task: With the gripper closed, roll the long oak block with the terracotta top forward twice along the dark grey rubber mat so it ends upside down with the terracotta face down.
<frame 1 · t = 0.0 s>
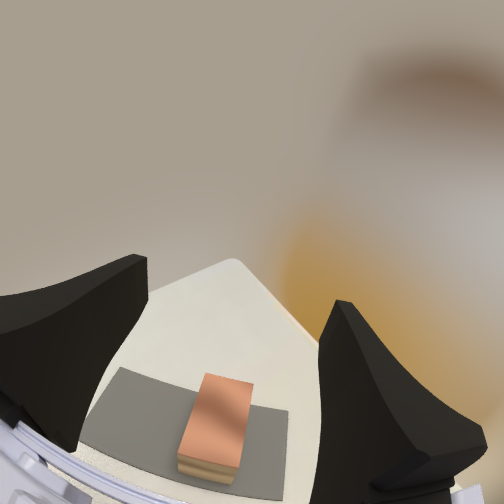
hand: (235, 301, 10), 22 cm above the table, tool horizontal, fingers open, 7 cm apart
rubber mat: (186, 433, 24), on the table
oak block: (214, 440, 24), resting on rubber mat
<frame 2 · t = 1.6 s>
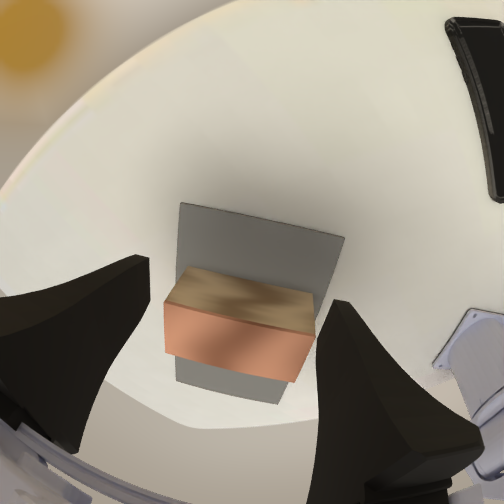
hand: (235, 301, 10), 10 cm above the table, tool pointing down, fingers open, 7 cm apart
rubber mat: (239, 329, 25), on the table
phone: (500, 106, 13), on the table
oak block: (244, 305, 23), resting on rubber mat
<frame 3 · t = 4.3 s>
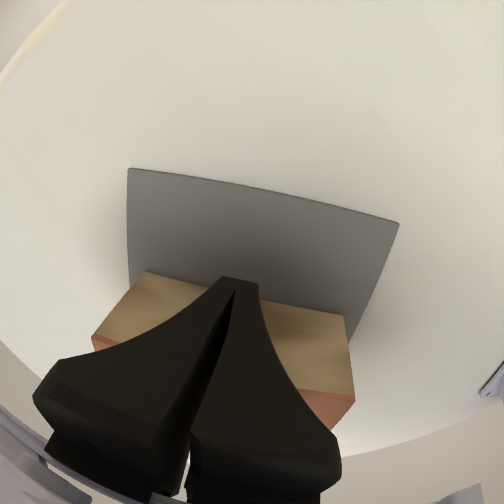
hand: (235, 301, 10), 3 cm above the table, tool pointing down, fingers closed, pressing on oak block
rubber mat: (229, 363, 16), on the table
oak block: (234, 332, 14), resting on rubber mat, touching gripper
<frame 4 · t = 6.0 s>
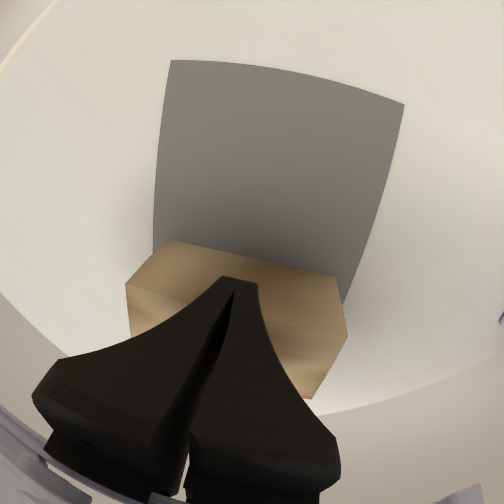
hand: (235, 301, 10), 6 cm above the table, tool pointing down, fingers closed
rubber mat: (251, 260, 16), on the table
oak block: (243, 281, 14), point 3 cm above the table, tilted 90°, touching rubber mat
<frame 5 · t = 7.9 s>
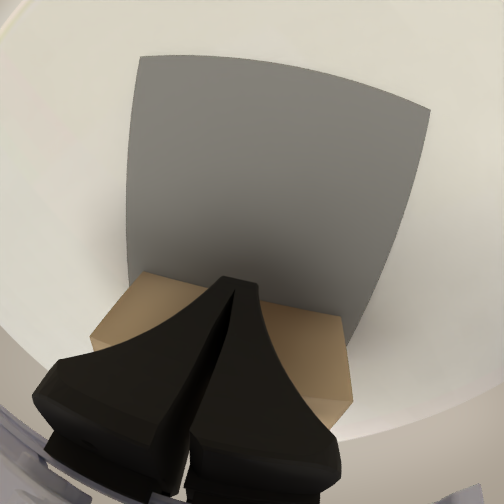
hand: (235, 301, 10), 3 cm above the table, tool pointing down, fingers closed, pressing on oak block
rubber mat: (241, 297, 14), on the table
oak block: (229, 331, 11), point 3 cm above the table, tilted 90°, touching gripper, rubber mat
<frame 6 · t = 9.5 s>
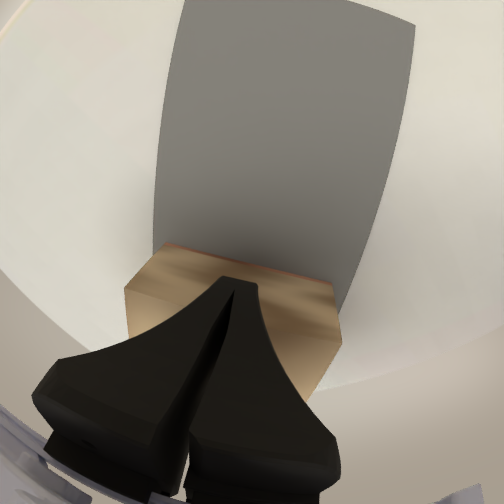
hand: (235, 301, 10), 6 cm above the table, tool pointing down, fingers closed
rubber mat: (267, 175, 14), on the table
oak block: (222, 356, 13), point 5 cm above the table, tilted 180°, touching rubber mat
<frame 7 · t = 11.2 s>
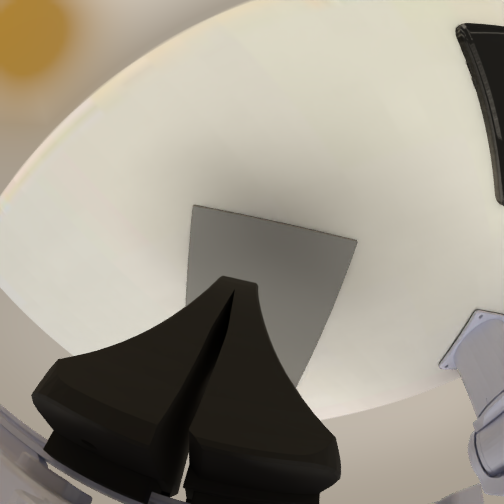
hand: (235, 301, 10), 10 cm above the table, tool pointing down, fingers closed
rubber mat: (250, 331, 24), on the table
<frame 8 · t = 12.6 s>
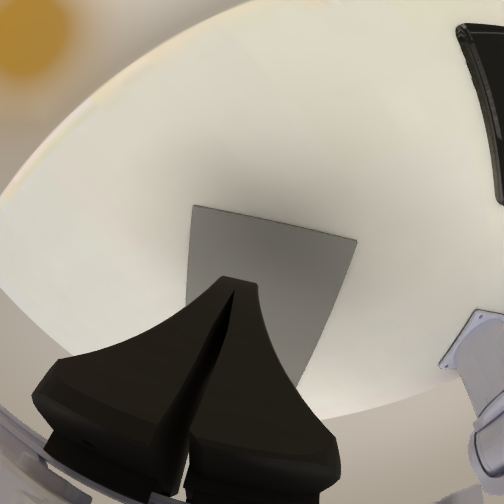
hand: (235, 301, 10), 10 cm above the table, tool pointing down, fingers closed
rubber mat: (250, 331, 24), on the table
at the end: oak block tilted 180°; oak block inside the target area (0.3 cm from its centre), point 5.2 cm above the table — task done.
